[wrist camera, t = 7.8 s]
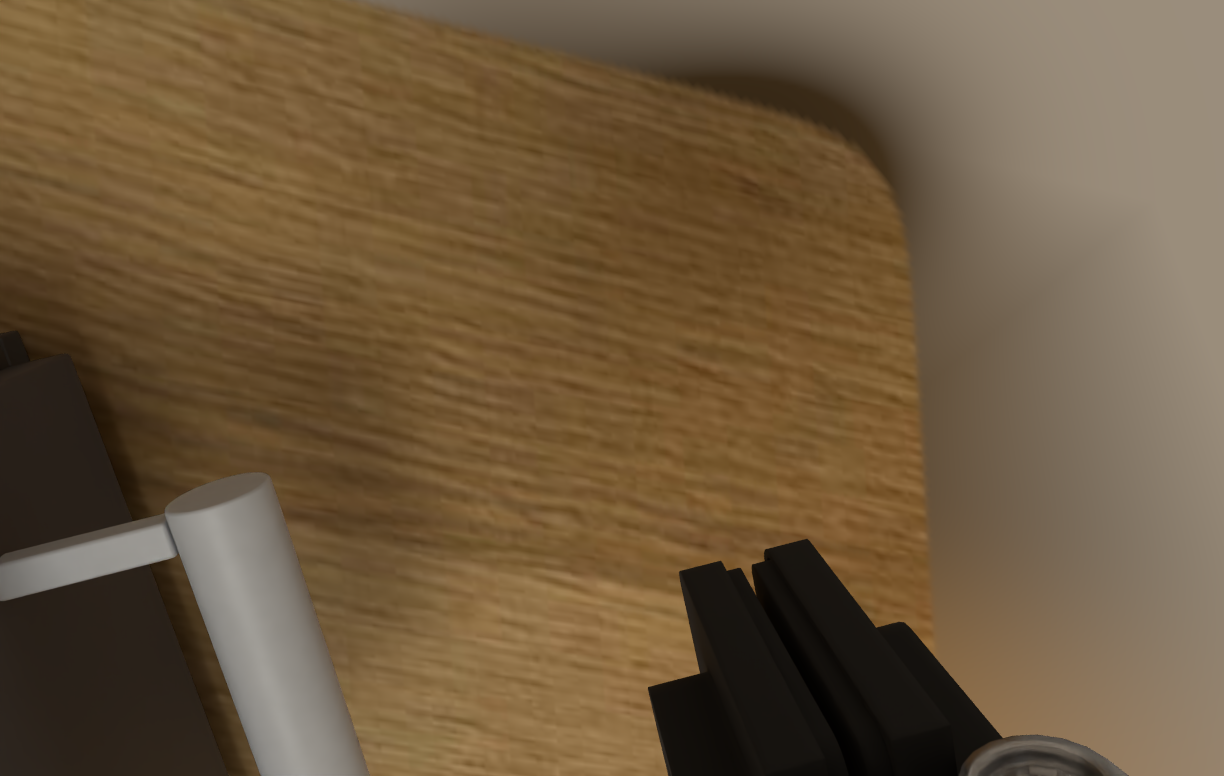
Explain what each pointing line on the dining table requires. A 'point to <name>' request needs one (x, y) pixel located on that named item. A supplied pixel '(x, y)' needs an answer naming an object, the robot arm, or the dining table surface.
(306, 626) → the drawer front with handle
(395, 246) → the dining table surface
